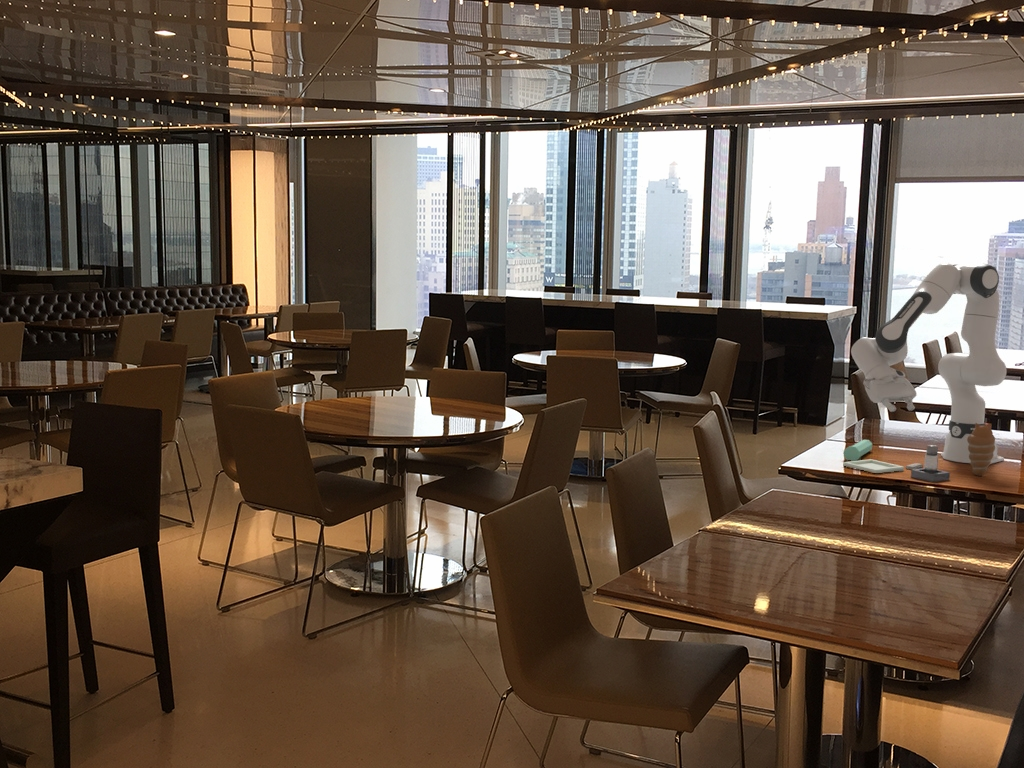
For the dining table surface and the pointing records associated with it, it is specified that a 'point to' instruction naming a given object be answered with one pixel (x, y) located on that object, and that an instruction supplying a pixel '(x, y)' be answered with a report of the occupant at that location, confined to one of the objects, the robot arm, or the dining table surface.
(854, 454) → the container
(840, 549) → the dining table surface
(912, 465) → the drift key
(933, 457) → the grey capped bottle
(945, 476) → the socket collar
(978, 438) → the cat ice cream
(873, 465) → the tray
